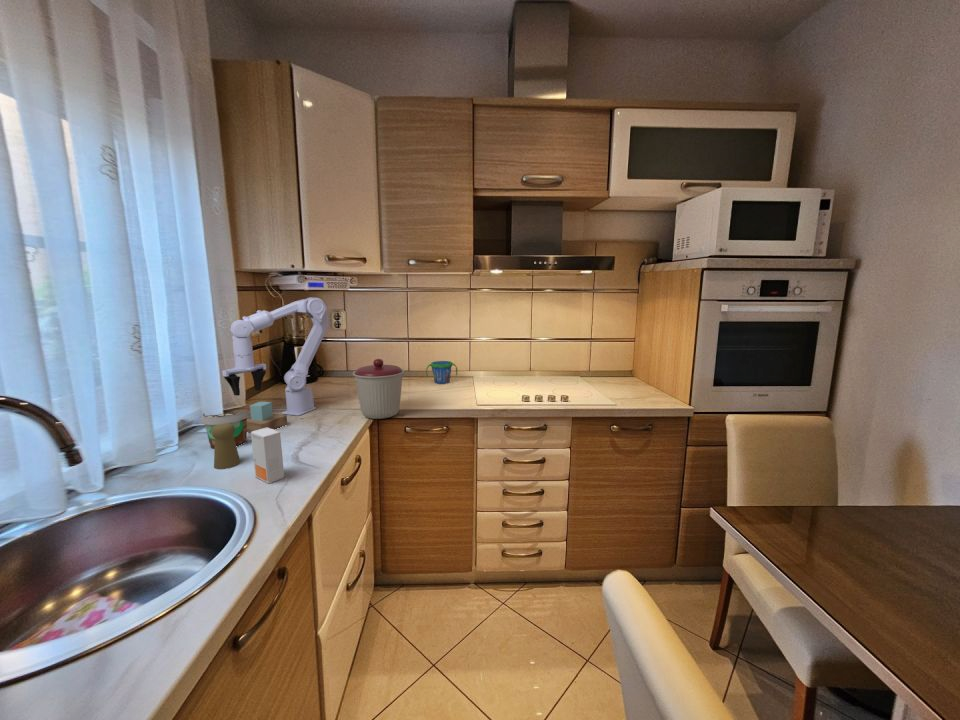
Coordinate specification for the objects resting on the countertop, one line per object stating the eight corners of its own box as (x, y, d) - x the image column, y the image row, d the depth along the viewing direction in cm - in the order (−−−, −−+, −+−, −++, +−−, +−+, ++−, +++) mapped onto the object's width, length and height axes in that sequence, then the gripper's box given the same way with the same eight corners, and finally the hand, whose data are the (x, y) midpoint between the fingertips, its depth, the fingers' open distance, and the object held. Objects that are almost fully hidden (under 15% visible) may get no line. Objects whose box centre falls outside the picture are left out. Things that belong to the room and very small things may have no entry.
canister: (347, 422, 138) (343, 363, 135) (365, 407, 156) (362, 354, 152) (398, 423, 137) (395, 363, 133) (410, 408, 155) (409, 355, 151)
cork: (211, 464, 105) (206, 424, 103) (237, 457, 109) (232, 419, 107) (216, 471, 101) (211, 430, 99) (243, 464, 105) (239, 424, 103)
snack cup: (425, 385, 192) (424, 364, 191) (427, 380, 203) (427, 360, 201) (457, 385, 193) (457, 364, 191) (458, 380, 203) (457, 360, 201)
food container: (197, 453, 112) (192, 419, 110) (205, 445, 118) (201, 413, 116) (245, 448, 115) (242, 415, 114) (251, 441, 121) (248, 409, 120)
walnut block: (265, 423, 139) (264, 412, 138) (287, 426, 136) (286, 415, 135) (239, 432, 130) (238, 420, 129) (262, 436, 126) (261, 424, 126)
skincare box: (254, 478, 97) (249, 431, 95) (271, 471, 101) (267, 426, 99) (268, 484, 94) (263, 436, 92) (285, 477, 98) (281, 431, 95)
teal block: (262, 415, 134) (260, 401, 133) (273, 416, 133) (271, 402, 132) (251, 419, 130) (249, 405, 129) (262, 421, 129) (261, 406, 128)
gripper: (229, 358, 129) (234, 398, 132) (270, 352, 142) (273, 389, 144) (216, 357, 132) (221, 396, 135) (257, 351, 145) (261, 387, 147)
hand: (247, 392), depth 140 cm, fingers open, 7 cm apart
